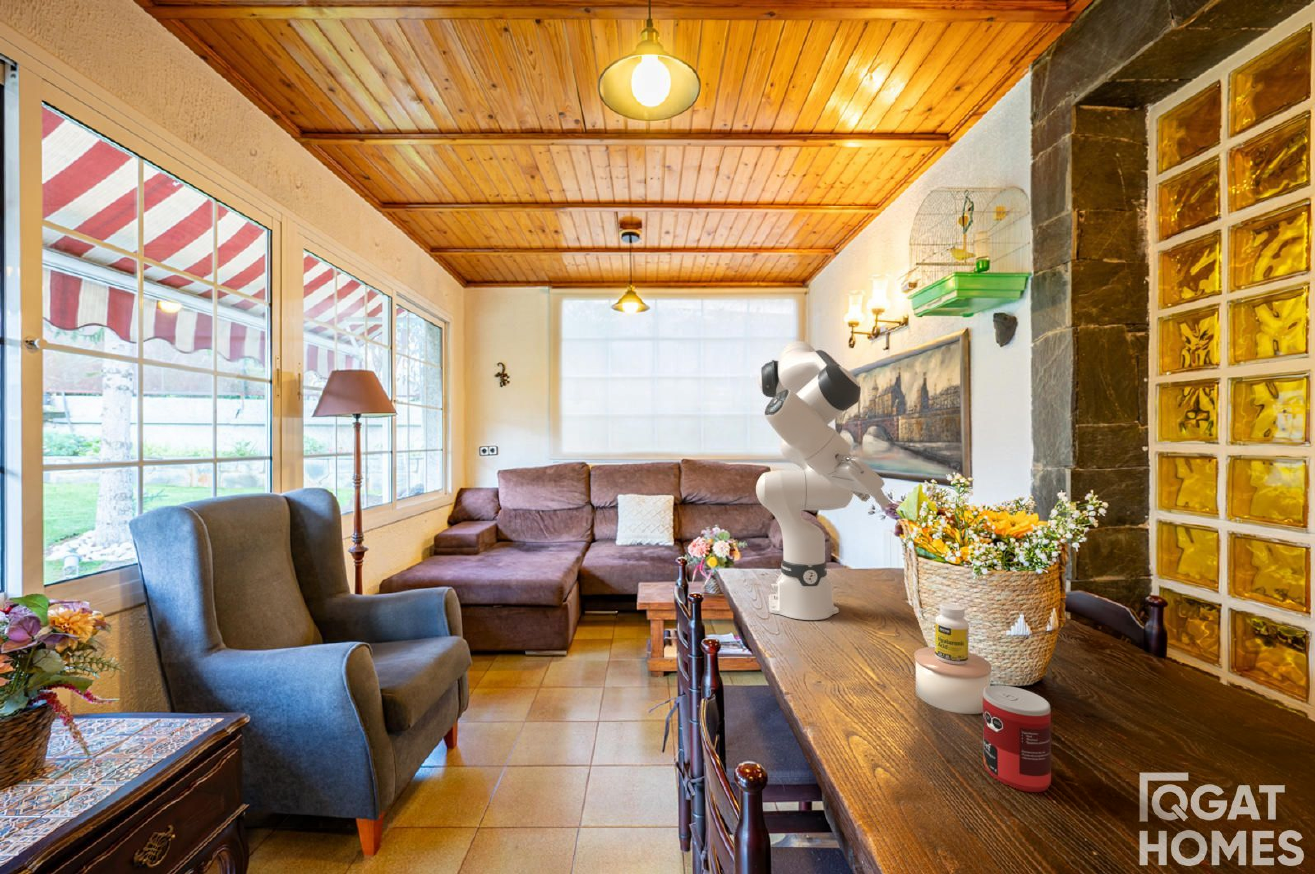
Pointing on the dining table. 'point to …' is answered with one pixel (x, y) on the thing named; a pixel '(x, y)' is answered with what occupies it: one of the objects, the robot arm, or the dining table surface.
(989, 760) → the canned food
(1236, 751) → the dining table surface
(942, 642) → the supplement bottle
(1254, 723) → the dining table surface
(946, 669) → the ceramic canister
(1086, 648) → the dining table surface
